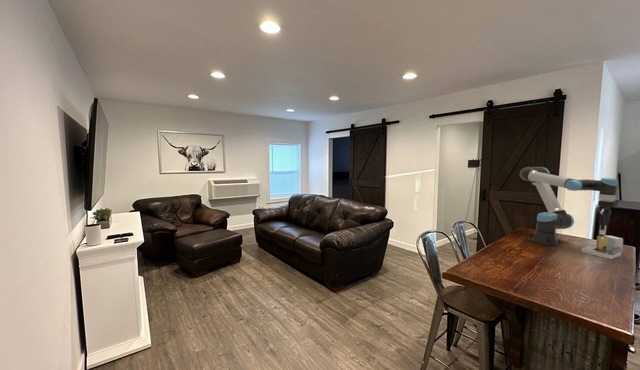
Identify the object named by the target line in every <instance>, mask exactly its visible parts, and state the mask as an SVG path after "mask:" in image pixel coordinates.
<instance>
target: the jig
mask: <svg viewBox="0 0 640 370" xmlns="http://www.w3.org/2000/svg"><path fill="white" fill-rule="evenodd" d="M580 252H581V253H584V254H589V255H591V256H592V255H593V256H597V257H602V258H604V259H605V258H606V259H610V260H613V259H616V258H618V257H620V256H621V255H622V253H621V248H620V247H616V248H613V249H610V250H609V249H607V250H606V252H602V251H597V250H596V245H588V246H585V247H582V248H581V250H580Z"/></svg>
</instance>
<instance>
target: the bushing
mask: <svg viewBox="0 0 640 370" xmlns="http://www.w3.org/2000/svg"><path fill="white" fill-rule="evenodd" d="M604 236H605V235H597V236H596V245H595V247H596V250H597V251H602V252H606V250H607V242H608V237H604Z"/></svg>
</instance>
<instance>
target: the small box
mask: <svg viewBox="0 0 640 370" xmlns="http://www.w3.org/2000/svg"><path fill="white" fill-rule="evenodd" d="M603 236H604V237H608V242H607V249H609V250H610V249H613V248H616V247H620V248H621V254H622V253H623V248H624V247H623V245H624V238H623V237H617V236H615V235H614V236H613V235H603Z"/></svg>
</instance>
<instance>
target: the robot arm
mask: <svg viewBox="0 0 640 370" xmlns="http://www.w3.org/2000/svg"><path fill="white" fill-rule="evenodd" d="M519 177H520V178H521V179H522V180H523V181H529V182H531V184H532V185H534V186H535V187H536V190H537V191H538V194H539V195H540V197H541V200H542V201H543V204H544V205H545V208H546V210H547V211H546V212H545V211H543V212H539V213H538V214H537V216H536V227H535V233H534V234H533V236H532V239H531V241H532V242H533V243H535V244H539V245H545V246H558V239H557V235H556V233H557V231H556V230H565V229H570V228H571V227H573V225H574V223H575V220H574V217H573V216H572V215H571V214H570V213H567V211H566V210H565V209H563V208H562V207H561V204H560V203H559V200H558V199H557V197H556V195H555V193H554V191H553V189H552V186H555V187H558V188H559V187H560V188H563V189H564V188H565V189H567V191H573V192H577V191H595V192H599V195H598V201H597V205H598V206H599V207H601V208H600V209H599V211H598V216H599V217H598V224H597V225H599V231H598V232H599V233H598V235H601V236H606V232H607V227H608V226H609V223H610V219H611V213H612V210H611V208H614V207H615V203H616V202H615V201H616V199H617V196H616V195H617V189H618V179H617V178H614V177H612V178H611V177H602V178H601V179H600V180H597V179H586V178H585V179H584V178H583V179H574V178H570V177H565V176H559V175H555V174H552V173H551V174H550V171H549V170H548V168H546V167H543V166H525V167H523V168H521V170H520V171H519Z"/></svg>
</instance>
